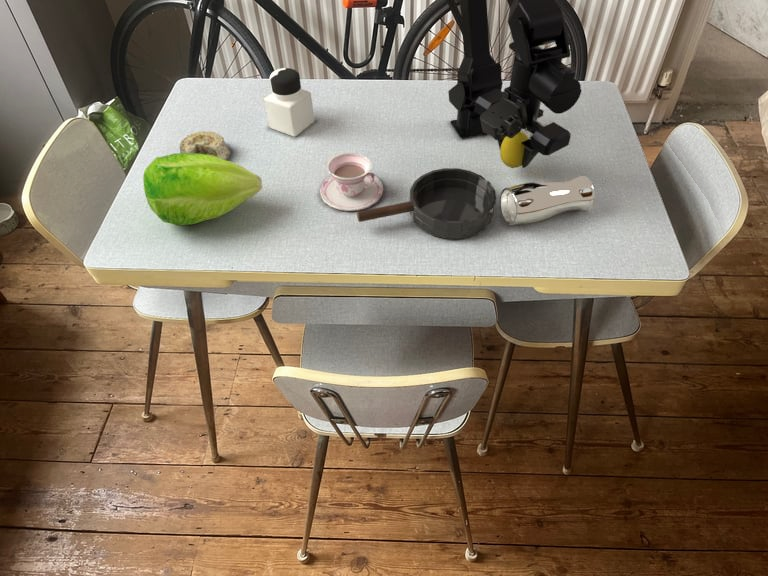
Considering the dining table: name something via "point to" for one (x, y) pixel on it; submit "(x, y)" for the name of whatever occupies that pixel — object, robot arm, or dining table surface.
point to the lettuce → (196, 187)
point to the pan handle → (385, 211)
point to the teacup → (350, 183)
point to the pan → (452, 203)
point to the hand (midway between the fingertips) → (513, 159)
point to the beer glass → (545, 199)
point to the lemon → (513, 150)
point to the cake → (205, 144)
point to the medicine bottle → (288, 103)
